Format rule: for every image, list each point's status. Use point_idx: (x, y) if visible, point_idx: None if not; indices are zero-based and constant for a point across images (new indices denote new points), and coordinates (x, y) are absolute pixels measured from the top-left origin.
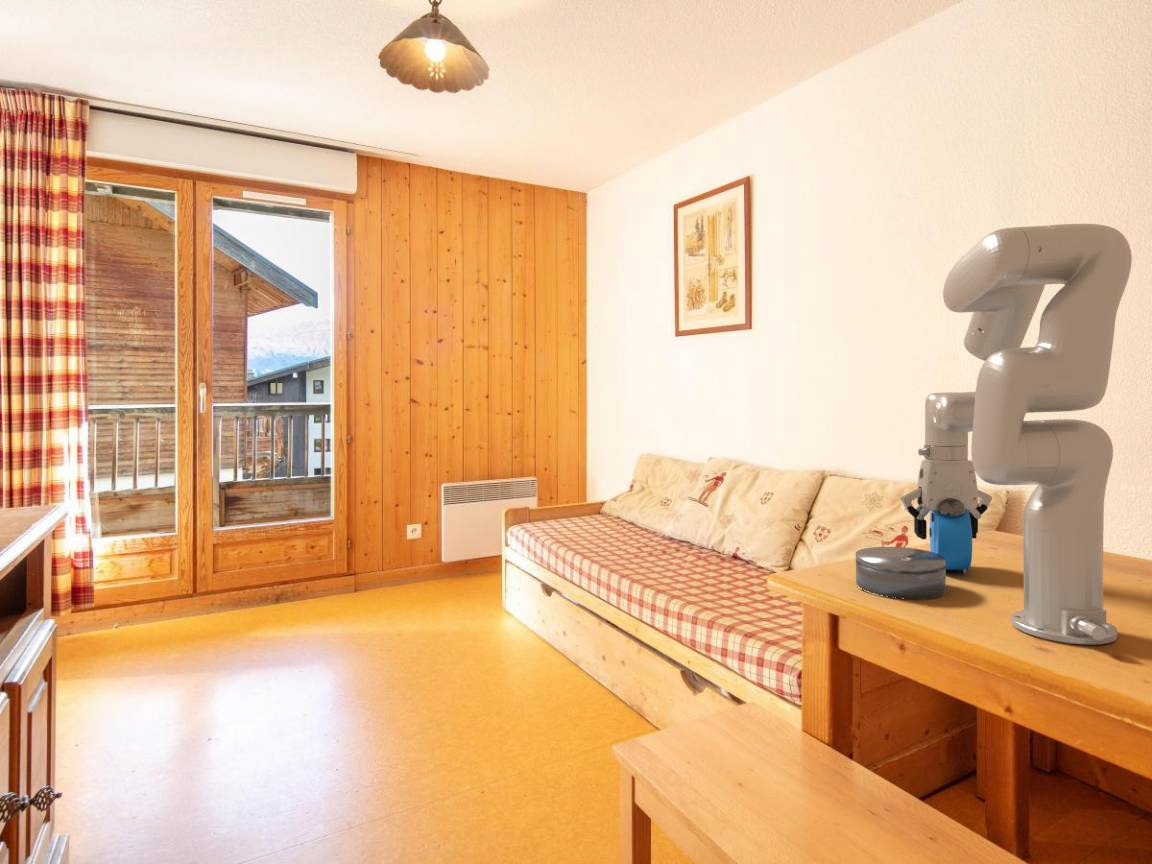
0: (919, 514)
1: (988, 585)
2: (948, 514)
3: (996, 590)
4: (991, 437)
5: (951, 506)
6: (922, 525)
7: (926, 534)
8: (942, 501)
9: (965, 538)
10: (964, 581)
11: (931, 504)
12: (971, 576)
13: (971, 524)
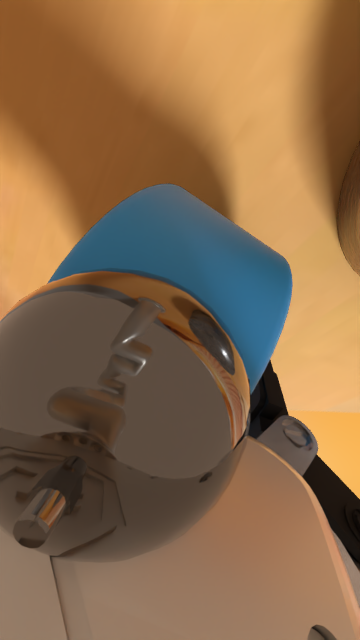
0: (312, 455)
1: (202, 126)
2: (221, 319)
3: (223, 41)
4: None
5: (157, 371)
6: (273, 387)
7: None
8: (176, 533)
9: (187, 195)
10: (231, 190)
11: (299, 536)
12: None
13: None
